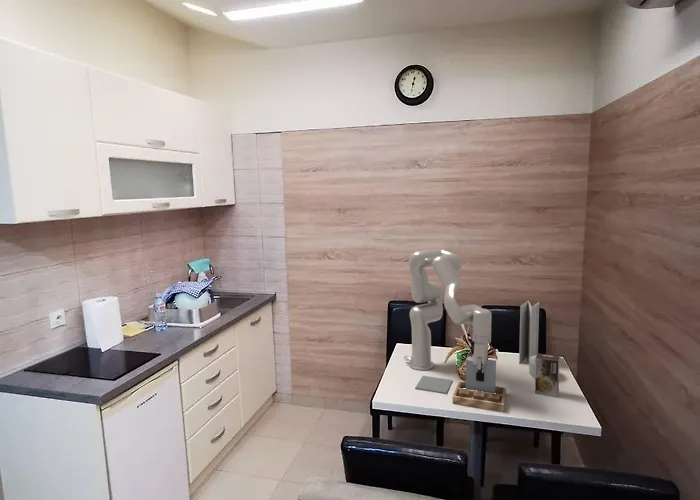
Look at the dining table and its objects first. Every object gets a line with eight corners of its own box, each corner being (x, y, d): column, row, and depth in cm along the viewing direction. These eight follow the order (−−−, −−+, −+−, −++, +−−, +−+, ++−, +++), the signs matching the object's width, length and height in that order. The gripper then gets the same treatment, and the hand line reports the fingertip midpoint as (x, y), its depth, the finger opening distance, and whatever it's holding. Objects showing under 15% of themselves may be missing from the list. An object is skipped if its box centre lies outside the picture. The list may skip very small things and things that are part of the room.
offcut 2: (473, 404, 175) (473, 395, 174) (474, 400, 178) (474, 391, 178) (483, 405, 173) (483, 396, 173) (484, 401, 177) (484, 392, 176)
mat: (415, 388, 190) (415, 387, 190) (422, 376, 203) (422, 375, 203) (446, 394, 184) (446, 392, 184) (452, 381, 197) (452, 379, 197)
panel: (465, 388, 184) (466, 359, 182) (466, 384, 187) (467, 356, 185) (494, 393, 179) (495, 364, 177) (495, 389, 182) (496, 360, 181)
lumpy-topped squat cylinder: (549, 370, 206) (550, 353, 205) (557, 382, 193) (558, 364, 192) (527, 369, 208) (527, 352, 207) (533, 380, 195) (533, 362, 194)
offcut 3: (488, 406, 172) (488, 397, 172) (489, 402, 176) (489, 393, 176) (498, 408, 171) (498, 399, 170) (499, 404, 174) (499, 394, 174)
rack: (452, 403, 176) (452, 396, 175) (459, 386, 191) (459, 380, 190) (503, 412, 168) (503, 404, 167) (506, 394, 183) (506, 387, 182)
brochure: (530, 366, 212) (532, 307, 208) (519, 363, 215) (520, 306, 212) (537, 357, 223) (539, 301, 220) (526, 355, 227) (528, 300, 223)
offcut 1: (458, 401, 177) (458, 392, 177) (460, 397, 181) (460, 388, 180) (468, 403, 176) (468, 394, 175) (469, 399, 179) (469, 390, 179)
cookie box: (559, 391, 184) (560, 356, 182) (557, 397, 178) (559, 361, 176) (536, 387, 189) (537, 352, 187) (534, 393, 183) (535, 357, 181)
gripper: (475, 331, 189) (474, 369, 191) (469, 343, 174) (468, 385, 176) (492, 332, 186) (491, 372, 188) (488, 345, 171) (487, 388, 173)
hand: (480, 378), depth 182 cm, fingers closed on panel, 4 cm apart
